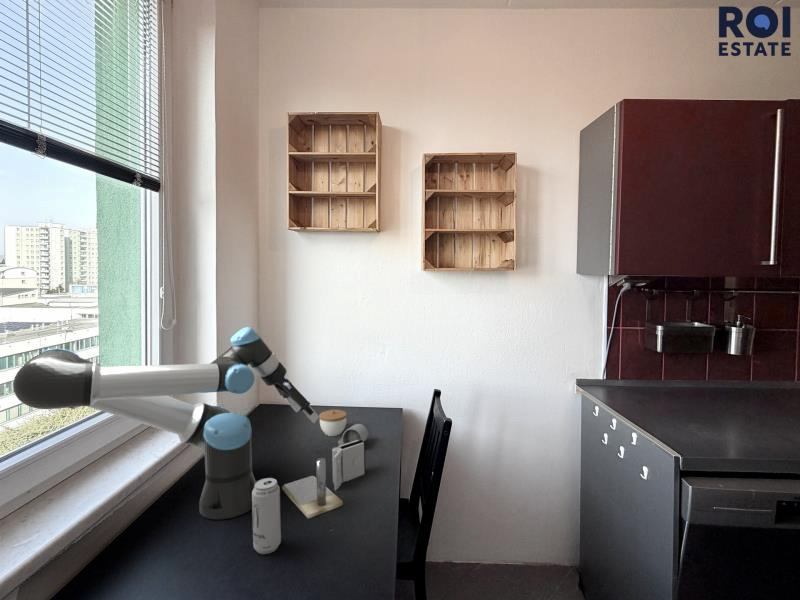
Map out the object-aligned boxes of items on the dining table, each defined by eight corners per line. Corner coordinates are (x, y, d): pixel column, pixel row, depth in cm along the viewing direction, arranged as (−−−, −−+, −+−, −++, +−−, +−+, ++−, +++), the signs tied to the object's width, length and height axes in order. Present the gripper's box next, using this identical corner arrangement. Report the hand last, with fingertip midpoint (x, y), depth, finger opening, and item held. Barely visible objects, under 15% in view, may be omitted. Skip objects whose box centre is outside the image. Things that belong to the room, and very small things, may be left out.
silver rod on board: (307, 511, 105) (306, 466, 104) (283, 485, 118) (282, 445, 118) (338, 500, 110) (338, 457, 110) (312, 476, 124) (311, 437, 123)
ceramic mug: (369, 442, 152) (368, 421, 151) (361, 451, 144) (361, 429, 144) (343, 440, 154) (342, 420, 154) (334, 448, 147) (333, 427, 146)
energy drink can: (248, 546, 93) (247, 483, 92) (273, 535, 97) (271, 474, 96) (260, 559, 89) (259, 493, 88) (286, 546, 93) (284, 483, 92)
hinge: (336, 491, 117) (335, 457, 117) (323, 486, 120) (322, 452, 120) (367, 472, 128) (367, 441, 128) (355, 468, 131) (354, 437, 131)
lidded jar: (317, 430, 164) (317, 407, 163) (343, 426, 168) (343, 404, 167) (322, 440, 154) (321, 416, 153) (349, 436, 158) (349, 412, 157)
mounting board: (308, 518, 104) (308, 514, 104) (282, 489, 118) (282, 486, 118) (342, 505, 110) (342, 501, 110) (314, 479, 124) (314, 476, 124)
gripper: (294, 367, 121) (332, 416, 130) (266, 355, 141) (300, 398, 149) (274, 385, 118) (315, 433, 126) (248, 370, 138) (285, 413, 146)
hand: (307, 414), depth 138 cm, fingers open, 13 cm apart
